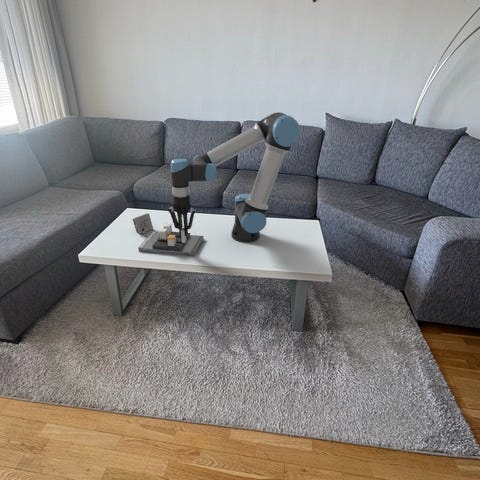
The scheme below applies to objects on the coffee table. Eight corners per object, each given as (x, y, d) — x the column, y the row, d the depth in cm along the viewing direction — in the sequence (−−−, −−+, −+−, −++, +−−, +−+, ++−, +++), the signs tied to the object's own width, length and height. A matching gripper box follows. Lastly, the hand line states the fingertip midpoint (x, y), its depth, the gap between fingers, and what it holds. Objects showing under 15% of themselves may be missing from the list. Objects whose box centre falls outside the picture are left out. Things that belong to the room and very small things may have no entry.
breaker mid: (168, 236, 167) (167, 228, 165) (165, 239, 164) (165, 231, 162) (162, 236, 167) (161, 228, 165) (160, 239, 165) (159, 231, 162)
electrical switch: (139, 235, 176) (136, 218, 173) (133, 233, 180) (130, 217, 176) (153, 229, 183) (151, 213, 179) (148, 227, 186) (145, 212, 182)
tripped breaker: (176, 243, 161) (175, 235, 159) (174, 246, 158) (173, 238, 156) (170, 242, 161) (169, 234, 159) (168, 245, 158) (167, 237, 156)
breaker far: (172, 231, 172) (171, 223, 170) (170, 234, 169) (169, 226, 167) (166, 231, 173) (165, 223, 171) (164, 233, 170) (163, 226, 168)
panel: (203, 239, 173) (203, 233, 172) (194, 256, 157) (194, 250, 156) (152, 235, 177) (152, 229, 175) (138, 251, 161) (137, 245, 159)
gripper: (197, 192, 149) (199, 239, 160) (169, 190, 151) (173, 236, 162) (193, 198, 143) (195, 246, 154) (164, 196, 144) (168, 243, 155)
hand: (184, 241), depth 158 cm, fingers closed
